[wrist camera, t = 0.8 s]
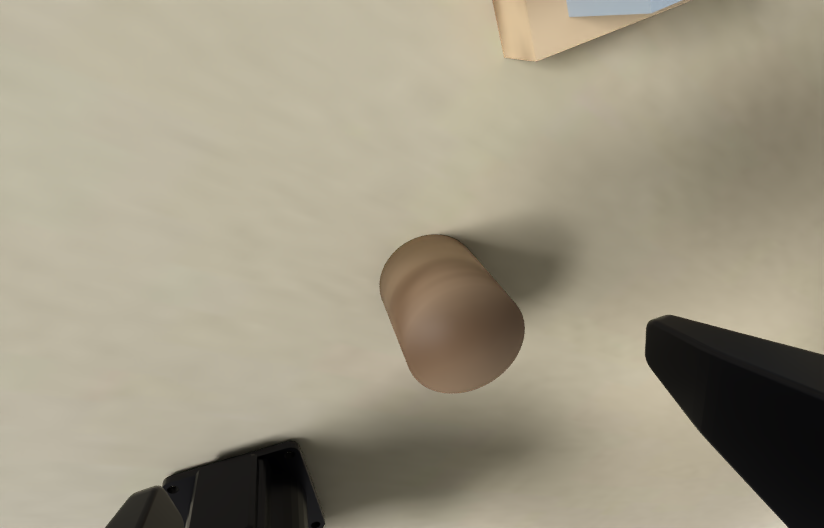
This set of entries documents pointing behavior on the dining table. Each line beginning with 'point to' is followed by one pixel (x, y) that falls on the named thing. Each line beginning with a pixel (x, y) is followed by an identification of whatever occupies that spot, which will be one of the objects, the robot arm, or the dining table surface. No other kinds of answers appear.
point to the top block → (615, 7)
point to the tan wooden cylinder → (449, 315)
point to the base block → (552, 27)
